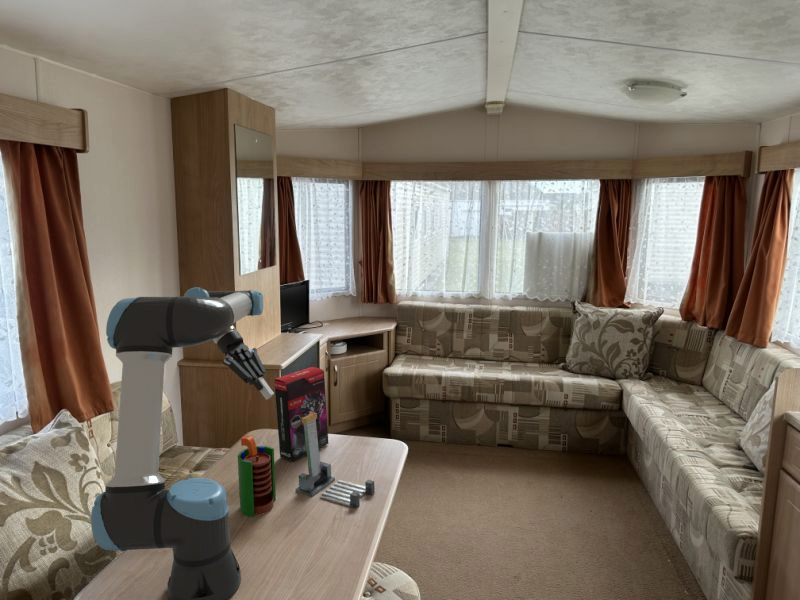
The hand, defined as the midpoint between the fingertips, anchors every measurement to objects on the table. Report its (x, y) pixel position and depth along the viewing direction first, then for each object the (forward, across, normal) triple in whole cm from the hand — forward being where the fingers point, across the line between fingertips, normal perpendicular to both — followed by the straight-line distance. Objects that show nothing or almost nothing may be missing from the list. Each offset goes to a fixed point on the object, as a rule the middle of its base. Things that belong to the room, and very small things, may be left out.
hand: (270, 396), depth 170 cm
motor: (+24, -17, +11) cm, 32 cm away
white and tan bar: (+28, 0, +5) cm, 29 cm away
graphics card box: (+16, +17, +19) cm, 30 cm away
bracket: (+34, 0, +1) cm, 34 cm away
